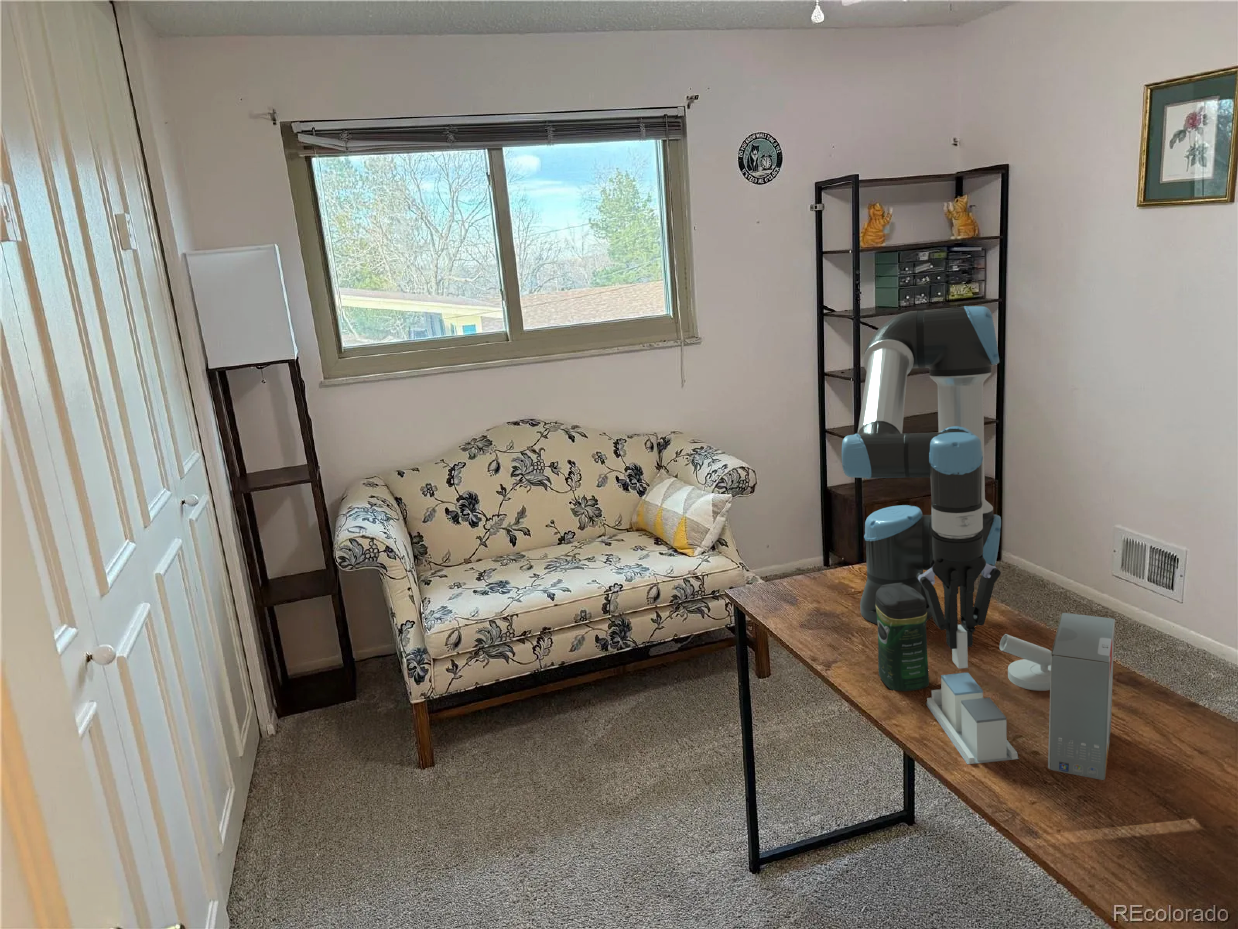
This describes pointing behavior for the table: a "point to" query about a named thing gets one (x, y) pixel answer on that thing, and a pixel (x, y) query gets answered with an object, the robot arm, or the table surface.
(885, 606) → the coffee jar
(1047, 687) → the wall hook
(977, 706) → the block
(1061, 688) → the hard drive box
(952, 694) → the module
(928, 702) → the rail
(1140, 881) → the table surface
